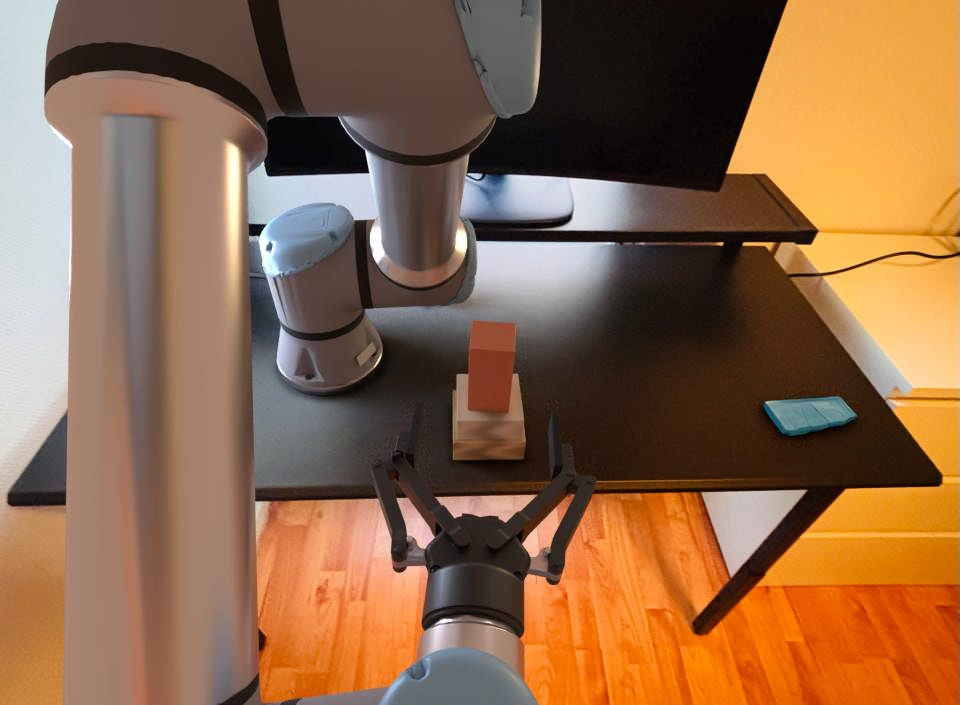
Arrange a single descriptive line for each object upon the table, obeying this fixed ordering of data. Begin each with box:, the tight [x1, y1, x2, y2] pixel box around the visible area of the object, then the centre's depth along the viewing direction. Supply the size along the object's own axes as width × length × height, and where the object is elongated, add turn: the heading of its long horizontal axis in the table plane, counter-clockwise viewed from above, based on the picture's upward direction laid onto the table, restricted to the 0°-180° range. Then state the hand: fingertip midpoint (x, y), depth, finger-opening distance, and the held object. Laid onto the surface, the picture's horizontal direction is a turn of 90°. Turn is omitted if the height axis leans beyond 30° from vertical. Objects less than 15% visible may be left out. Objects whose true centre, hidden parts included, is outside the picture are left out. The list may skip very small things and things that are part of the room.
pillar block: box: [468, 319, 517, 413], centre depth 63 cm, size 5×5×10 cm
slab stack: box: [452, 373, 527, 461], centre depth 69 cm, size 9×9×7 cm
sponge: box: [763, 396, 858, 437], centre depth 74 cm, size 2×12×6 cm
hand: (486, 415), depth 54 cm, fingers open, 13 cm apart
